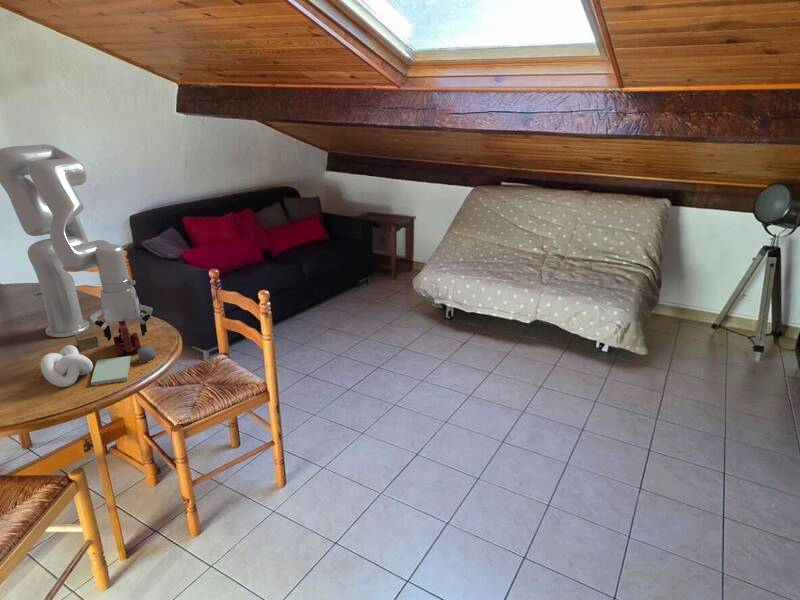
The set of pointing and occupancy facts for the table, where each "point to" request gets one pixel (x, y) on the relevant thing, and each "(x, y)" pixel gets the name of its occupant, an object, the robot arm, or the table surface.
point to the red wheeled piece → (126, 339)
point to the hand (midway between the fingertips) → (126, 336)
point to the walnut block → (86, 340)
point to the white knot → (65, 366)
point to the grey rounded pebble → (146, 354)
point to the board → (111, 370)
